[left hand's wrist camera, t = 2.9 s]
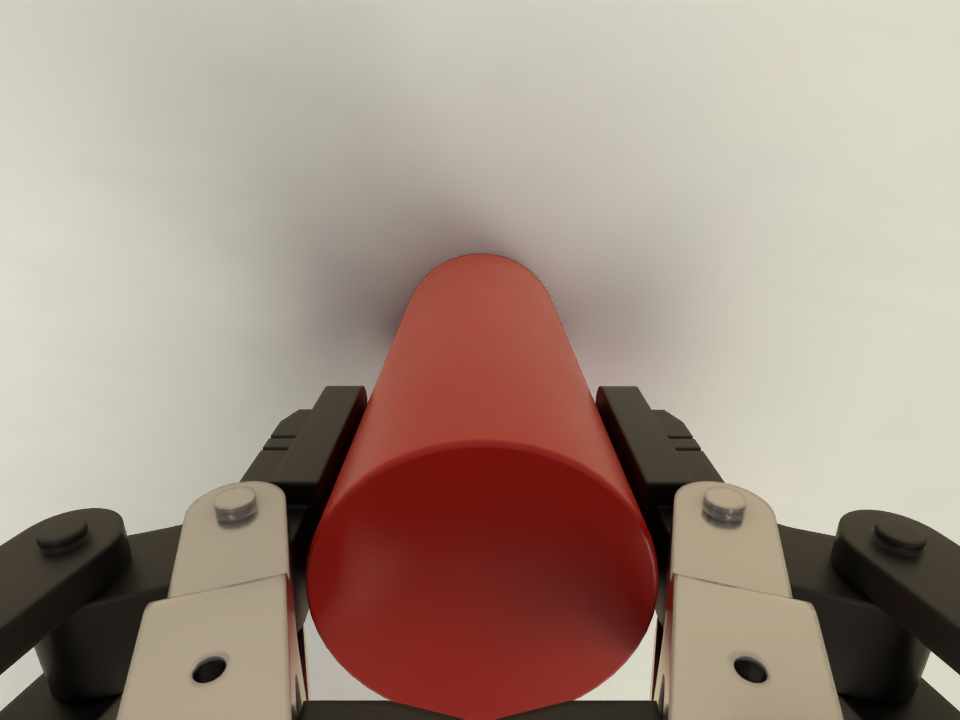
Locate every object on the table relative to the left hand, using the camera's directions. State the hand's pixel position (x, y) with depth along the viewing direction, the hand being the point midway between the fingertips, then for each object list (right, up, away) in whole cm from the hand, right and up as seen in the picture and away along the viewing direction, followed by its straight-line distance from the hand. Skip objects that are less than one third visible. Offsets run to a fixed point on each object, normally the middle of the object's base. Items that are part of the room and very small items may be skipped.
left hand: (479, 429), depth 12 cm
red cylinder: (0, +2, +6) cm, 7 cm away
